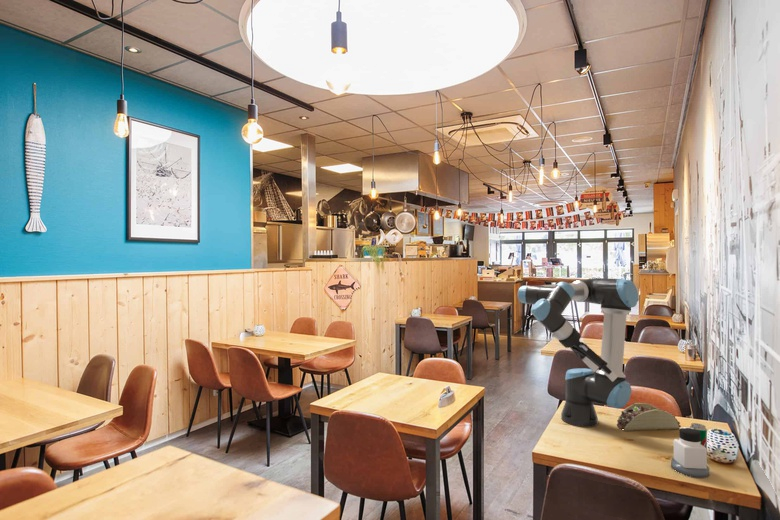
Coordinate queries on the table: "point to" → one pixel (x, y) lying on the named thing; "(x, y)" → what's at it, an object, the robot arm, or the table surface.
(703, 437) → the soda can
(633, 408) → the taco
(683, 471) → the disc
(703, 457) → the medicine bottle
